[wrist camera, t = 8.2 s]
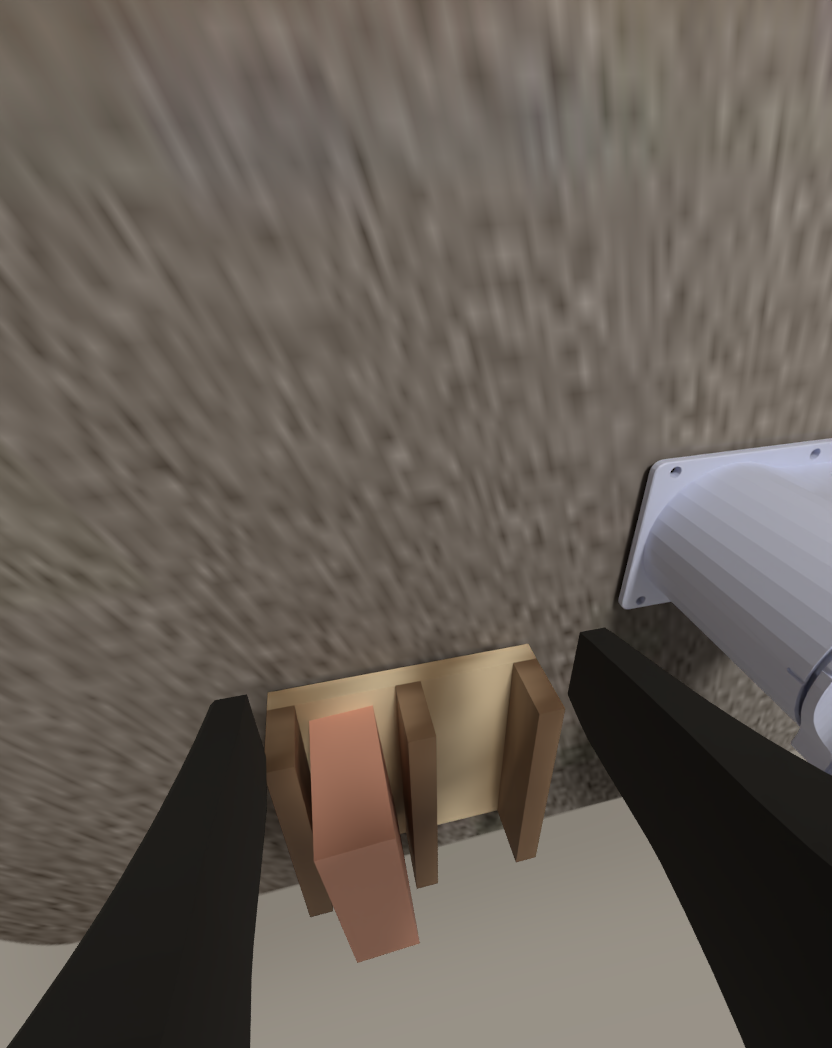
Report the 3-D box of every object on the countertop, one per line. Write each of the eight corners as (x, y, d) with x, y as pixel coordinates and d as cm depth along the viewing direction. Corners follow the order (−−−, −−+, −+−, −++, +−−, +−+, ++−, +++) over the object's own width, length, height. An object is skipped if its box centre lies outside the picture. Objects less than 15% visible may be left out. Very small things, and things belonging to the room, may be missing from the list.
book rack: (527, 643, 25) (565, 708, 21) (509, 790, 31) (535, 857, 28) (267, 692, 22) (263, 773, 19) (308, 838, 29) (310, 917, 26)
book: (372, 705, 23) (395, 838, 18) (397, 816, 28) (419, 943, 23) (308, 720, 23) (313, 861, 17) (345, 830, 28) (357, 962, 23)
